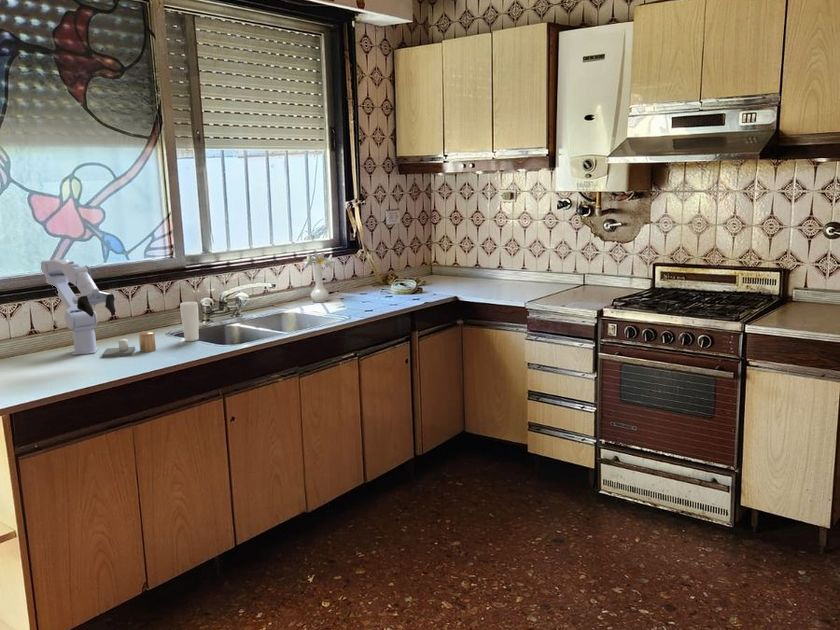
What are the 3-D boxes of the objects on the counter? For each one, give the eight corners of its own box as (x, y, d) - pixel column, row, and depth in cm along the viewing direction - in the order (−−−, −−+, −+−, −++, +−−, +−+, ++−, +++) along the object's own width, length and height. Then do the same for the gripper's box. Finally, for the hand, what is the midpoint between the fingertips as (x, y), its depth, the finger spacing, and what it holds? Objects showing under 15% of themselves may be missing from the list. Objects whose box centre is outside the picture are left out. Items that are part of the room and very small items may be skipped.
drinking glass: (179, 340, 295) (176, 303, 292) (195, 337, 300) (191, 300, 297) (188, 342, 290) (185, 305, 288) (204, 339, 295) (200, 302, 293)
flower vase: (340, 298, 384) (338, 250, 379) (321, 304, 368) (318, 254, 363) (319, 297, 390) (316, 250, 385) (299, 303, 373) (296, 254, 369)
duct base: (107, 351, 279) (105, 338, 278) (135, 349, 281) (133, 336, 280) (102, 357, 270) (100, 343, 269) (131, 355, 272) (129, 341, 271)
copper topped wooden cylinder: (141, 349, 282) (139, 332, 280) (156, 348, 283) (155, 331, 281) (139, 352, 276) (137, 335, 275) (154, 351, 277) (153, 334, 276)
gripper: (70, 281, 260) (84, 306, 253) (111, 279, 270) (125, 303, 264) (66, 297, 263) (80, 322, 257) (106, 295, 274) (121, 318, 267)
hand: (103, 313), depth 260 cm, fingers open, 7 cm apart
